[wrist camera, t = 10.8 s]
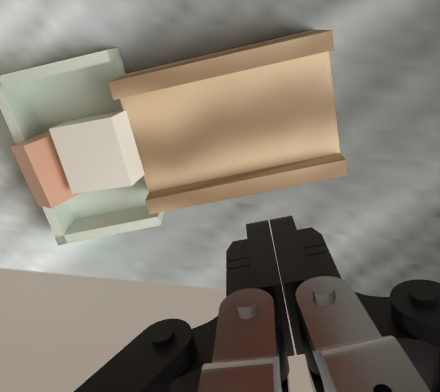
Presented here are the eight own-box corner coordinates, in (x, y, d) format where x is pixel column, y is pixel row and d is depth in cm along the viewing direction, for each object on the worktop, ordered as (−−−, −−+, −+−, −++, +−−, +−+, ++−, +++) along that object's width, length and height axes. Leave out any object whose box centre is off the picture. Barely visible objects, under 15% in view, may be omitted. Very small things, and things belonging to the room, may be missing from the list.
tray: (10, 73, 33) (-13, 78, 29) (118, 47, 32) (106, 49, 28) (72, 226, 38) (58, 245, 35) (166, 207, 37) (160, 225, 34)
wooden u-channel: (126, 73, 32) (107, 82, 27) (314, 29, 31) (332, 30, 26) (160, 187, 36) (149, 214, 31) (329, 152, 35) (347, 174, 30)
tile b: (83, 122, 32) (67, 123, 33) (23, 145, 29) (9, 145, 30) (105, 180, 34) (89, 179, 35) (51, 208, 31) (37, 205, 32)
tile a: (67, 121, 31) (48, 128, 29) (125, 109, 30) (110, 117, 27) (88, 182, 33) (72, 193, 31) (144, 174, 31) (132, 185, 29)
